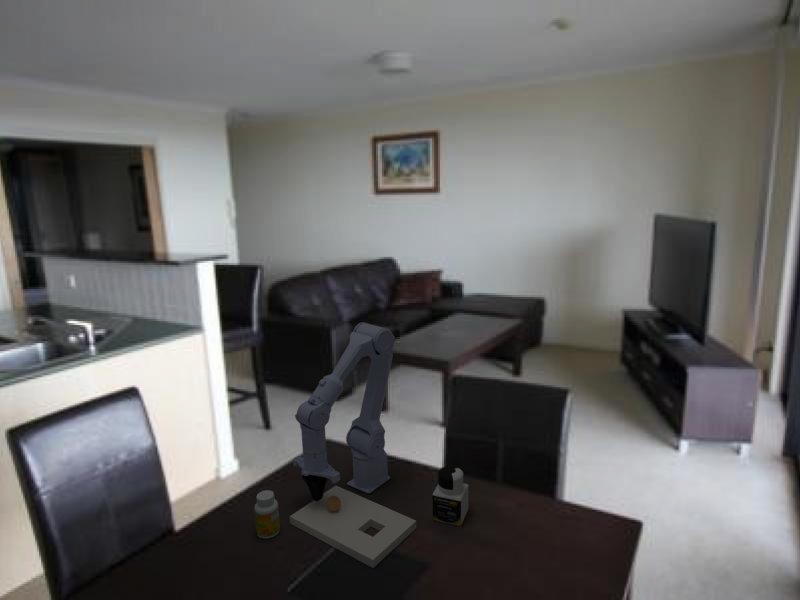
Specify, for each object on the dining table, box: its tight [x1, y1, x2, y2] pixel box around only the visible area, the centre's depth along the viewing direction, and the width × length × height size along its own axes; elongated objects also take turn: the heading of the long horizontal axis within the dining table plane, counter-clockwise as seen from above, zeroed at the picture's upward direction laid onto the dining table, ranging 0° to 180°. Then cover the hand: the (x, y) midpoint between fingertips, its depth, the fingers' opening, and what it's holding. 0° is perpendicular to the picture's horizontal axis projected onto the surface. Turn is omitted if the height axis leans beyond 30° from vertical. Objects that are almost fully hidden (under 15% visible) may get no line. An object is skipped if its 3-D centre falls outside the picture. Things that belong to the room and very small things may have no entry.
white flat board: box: [289, 485, 417, 569], centre depth 123 cm, size 26×16×2 cm, turn 53°
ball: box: [326, 496, 341, 511], centre depth 126 cm, size 4×4×4 cm
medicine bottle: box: [432, 465, 469, 527], centre depth 125 cm, size 7×7×12 cm
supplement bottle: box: [253, 489, 281, 539], centre depth 121 cm, size 5×5×10 cm
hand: (317, 498), depth 129 cm, fingers closed
